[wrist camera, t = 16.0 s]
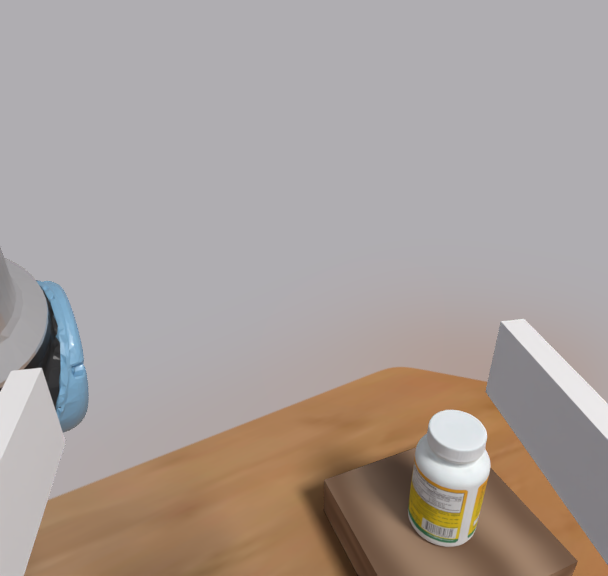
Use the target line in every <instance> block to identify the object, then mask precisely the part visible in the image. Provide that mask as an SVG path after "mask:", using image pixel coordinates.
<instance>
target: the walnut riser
mask: <svg viewBox="0 0 608 576" xmlns="http://www.w3.org/2000/svg"><path fill="white" fill-rule="evenodd" d="M415 451H416V448H414V449H411V450H408V451H405V452H402V453H399V454H396V455H394V456H391V457H388V458H385V459H382V460H379V461H376V462H374V463H371V464H368V465H365V466H362V467H359V468H356V469H354V470H351V471H348V472H345V473H342V474H339V475H337V476H334V477H331V478H328V479H325V480H324V512H325V514H326V516H327V517H328V519H329V521H330V523H331V525H332V527H333V529H334V531H335V533H336V535H337V537H338V539H339V540H340V542H341V544H342V546H343V548H344V550H345V552H346V554H347V556H348V558H349V560H350V561H351V563H352V565H353V567H354V569H355V571H356V573H357V575H358V576H572V575H573V572H574V569H575V567H576V564H577V562H578V561H577V560H576V559H575V558H574V557H573V556H572V555H571V554H570V552H569V551H568V550H567V549H566V548H565V547H564V546H563V545H562V544H561V543H560V542H559V541H558V540H557V539H556V537H555V536H554V535H553V534H552V533H551V532H550V531H549V530H548V529H547V528H546V527H545V526H544V525H543V523H542V522H541V521H540V520H539V519H538V518H537V517H536V516H535V515H534V514H533V513H532V512H531V511H530V510H529V508H528V507H527V506H526V505H525V504H524V503H523V502H522V501H521V500H520V499H519V498H518V497H517V496H516V495H515V493H514V492H513V491H512V490H511V489H510V488H509V487H508V486H507V485H506V484H505V483H504V482H503V481H502V479H501V478H500V477H499V476H498V475H497V474H496V473H495V472H494V471H493V470H492V469H491V468H490V472H489V477H488V481H487V485H486V489H485V494H484V498H483V502H482V506H481V510H480V514H479V518H478V523H477V526H476V530H475V532H474V534H473V536H472V537H471V538H470V540H468V541H467V542H465V543H464V544H462V545H459V546H454V547H444V546H439V545H435V544H433V543H431V542H429V541H427V540H426V539H424V538H423V537H421V536H420V535H419V534H418V533H417V531H416V530H415V529H414V527H413V526H412V524H411V522H410V520H409V516H408V504H409V497H410V489H411V481H412V473H413V465H414V458H415Z"/></svg>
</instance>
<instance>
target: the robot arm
mask: <svg viewBox="0 0 608 576" xmlns="http://www.w3.org/2000/svg"><path fill="white" fill-rule="evenodd" d="M83 362H84V358H83V349H82V345H81V340H80V336H79V332H78V328H77V324H76V321H75V317H74V314H73V311H72V308H71V306H70V303H69V300H68V298H67V296H66V294H65V292H64V290H63V289H62V287H61V286H60V285H58V284H56V283H54V282H51V281H44V282H41V281H37V280H35V279H34V277H33V276H32V275H31V274H30V273H29V272H28V271H26V270H25V269H24V268H23V267H21V266H19V265H18V264H16V263H14V262H12V261H10V260H8V259H6V258H4V256H3V253H2V251H1V248H0V576H24V573H25V570H26V567H27V564H28V561H29V558H30V554H31V551H32V548H33V545H34V542H35V539H36V535H37V532H38V529H39V526H40V523H41V520H42V516H43V513H44V510H45V507H46V504H47V501H48V497H49V494H50V491H51V488H52V485H53V482H54V478H55V475H56V472H57V469H58V466H59V463H60V460H61V456H62V453H63V450H64V447H65V443H66V441H65V438H64V435H63V432H66V431H68V430H71V429H72V428H74V427H76V426H77V425H78V424H79V423H80V422H81V421H82V419H83V418H84V417H85V415H86V412H87V408H88V381H87V373H86V370H85V367H84V365H83ZM486 393H487V394H488V396H489V397H490V399H491V400H492V402H493V403H494V404H495V406H496V407H497V409H498V410H499V411H500V413H501V414H502V416H503V417H504V419H505V420H506V421H507V423H508V424H509V426H510V427H511V428H512V430H513V431H514V433H515V434H516V436H517V437H518V438H519V440H520V441H521V443H522V444H523V445H524V447H525V448H526V450H527V451H528V453H529V454H530V455H531V457H532V458H533V460H534V461H535V463H536V464H537V465H538V467H539V468H540V470H541V471H542V472H543V474H544V475H545V477H546V478H547V480H548V481H549V482H550V484H551V485H552V487H553V488H554V489H555V491H556V492H557V494H558V495H559V497H560V498H561V499H562V501H563V502H564V504H565V505H566V507H567V508H568V509H569V511H570V512H571V514H572V515H573V516H574V518H575V519H576V521H577V522H578V524H579V525H580V526H581V528H582V529H583V531H584V532H585V533H586V535H587V536H588V538H589V539H590V541H591V542H592V543H593V545H594V546H595V548H596V549H597V550H598V552H599V553H600V555H601V556H602V558H603V559H604V560H605V562H606V563H607V565H608V403H606V401H605V400H604V399H603V398H602V397H601V396H600V395H599V394H598V393H596V391H595V390H594V389H593V388H592V387H591V386H590V385H589V384H588V383H587V382H586V381H585V380H584V379H583V378H582V377H581V376H580V375H579V374H578V373H577V372H576V371H575V370H574V369H573V368H572V367H571V366H570V365H569V364H568V363H567V362H566V361H565V360H564V359H563V358H562V357H561V356H560V355H559V354H558V353H557V352H556V351H555V350H554V349H553V348H552V347H551V346H550V345H549V344H548V343H547V342H546V340H544V338H542V337H541V335H539V333H538V332H537V331H536V330H535V329H534V328H533V327H532V326H531V325H530V324H529V323H528V322H527V321H526V320H525V319H520V320H509V321H501V323H500V327H499V332H498V337H497V341H496V346H495V351H494V356H493V360H492V365H491V369H490V374H489V378H488V383H487V387H486Z"/></svg>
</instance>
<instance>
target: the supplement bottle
mask: <svg viewBox="0 0 608 576" xmlns="http://www.w3.org/2000/svg"><path fill="white" fill-rule="evenodd" d="M486 440H487V432H486V429H485V427H484V426H483V424H482V423H481V422H480V421H479V420H478V419H477V418H475V417H474V416H472V415H470V414H468V413H466V412H462V411H458V410H444V411H441V412H438V413H436V414H435V415H434V416H433V417H432V418H431V420H430V422H429V426H428V432H427V434H426V435H424V436H423V437H422V438H421V439H420V441H419V443H418V444H417V447H416V451H415V458H414V465H413V473H412V481H411V489H410V497H409V504H408V516H409V520H410V522H411V524H412V526H413V527H414V529H415V530H416V531H417V533H418V534H419V535H420V536H421V537H423V538H424V539H426V540H427V541H429V542H431V543H433V544H435V545H439V546H444V547H454V546H459V545H462V544H464V543H465V542H467V541H468V540H470V538H471V537H472V536H473V534H474V532H475V530H476V526H477V523H478V518H479V514H480V510H481V506H482V502H483V498H484V494H485V489H486V485H487V481H488V477H489V472H490V459H489V456H488V453H487V451H486V450H485V445H486Z"/></svg>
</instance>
